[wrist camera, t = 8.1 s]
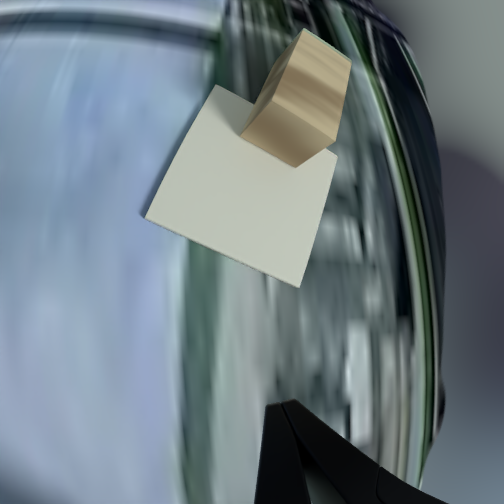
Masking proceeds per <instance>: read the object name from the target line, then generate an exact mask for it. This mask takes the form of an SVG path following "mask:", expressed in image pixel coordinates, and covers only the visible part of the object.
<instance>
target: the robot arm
mask: <svg viewBox="0 0 504 504" xmlns="http://www.w3.org/2000/svg"><path fill="white" fill-rule="evenodd" d="M310 499H311V500H310ZM311 501H312V504H448V503H446V502H444V501H441V500H439V499H437V498H435V497H433V496H431V495H428V494H426V493H424V492H422V491H420V490H418V489H416V488H414V487H413V486H411V485H409V484H407V483H405V482H404V481H402V480H401V479H399V478H397V477H396V476H394V475H393V474H391V473H390V472H389V471H387V470H386V469H384V468H383V467H380V465H379V464H377V463H376V462H375V461H373V460H372V459H371V458H369V457H368V456H367V455H365V454H364V453H362V452H361V451H360V450H359V449H357V448H356V447H355V446H353V445H352V444H351V443H349V442H348V441H347V440H345V439H344V438H343V437H342V436H340V435H339V434H338V433H337V432H335V431H334V430H333V429H331V428H330V427H329V426H328V425H326V424H325V423H324V422H323V421H322V420H320V419H319V418H318V417H317V416H315V415H314V414H313V413H312V412H311V411H309V410H308V409H307V408H306V407H305V406H303V405H302V404H301V403H300V402H299V401H297V400H296V399H288V400H284V401H282V402H281V403H279V402H276V403H271V404H267V405H266V407H265V416H264V425H263V434H262V443H261V451H260V460H259V468H258V476H257V484H256V492H255V499H254V504H311Z"/></svg>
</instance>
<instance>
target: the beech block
mask: <svg viewBox="0 0 504 504" xmlns="http://www.w3.org/2000/svg"><path fill="white" fill-rule="evenodd" d="M351 63H352V61H351V60H350V59H349V58H347V57H346V56H345V55H343V54H342V53H340V52H339V51H338V50H336V49H335V48H333V47H332V46H330V45H329V44H328V43H326V42H325V41H323V40H322V39H320V38H319V37H317V36H316V35H314V34H313V33H311V32H309V31H308V30H306V29H305V28H303V30H302V31H301V32H300V33H299V34H298V35H297V36H296V38H295V39H294V40H293V41H292V42H291V43H290V45H289V46H288V47H287V48H286V49H285V50H284V52H283V53H282V54H281V55H280V56H279V58H278V59H277V60H276V61H275V63H274V65H273V67H272V69H271V71H270V73H269V75H268V77H267V79H266V81H265V84H264V86H263V88H262V90H261V92H260V94H259V96H258V98H257V100H256V102H255V105H254V107H253V109H252V111H251V113H250V115H249V117H248V120H247V122H246V124H245V126H244V128H243V130H242V133H241V135H240V137H242V138H244V139H245V140H247V141H249V142H251V143H253V144H254V145H256V146H258V147H260V148H262V149H263V150H265V151H267V152H269V153H270V154H272V155H274V156H276V157H277V158H279V159H281V160H283V161H284V162H286V163H288V164H289V165H291V166H293V167H294V168H297V167H298V166H300V165H301V164H303V163H304V162H305V161H307V160H308V159H310V158H311V157H313V156H314V155H316V154H317V153H319V152H320V151H322V150H323V149H325V148H326V147H327V146H329V145H330V144H332V143H333V142H335V141H336V136H337V132H338V127H339V122H340V118H341V113H342V108H343V103H344V99H345V94H346V89H347V84H348V79H349V73H350V68H351Z"/></svg>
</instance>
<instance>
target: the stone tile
mask: <svg viewBox="0 0 504 504" xmlns="http://www.w3.org/2000/svg"><path fill="white" fill-rule="evenodd" d="M253 107H254V104H252V103H250V102H249V101H247V100H245V99H243V98H241V97H239V96H238V95H236V94H234V93H232V92H230V91H228V90H226V89H224V88H222V87H221V86H219V85H217V84H216V85H215V87H214V88H213V90H212V92H211V93H210V95H209V97H208V98H207V100H206V102H205V103H204V105H203V107H202V108H201V110H200V112H199V114H198V115H197V117H196V119H195V121H194V122H193V124H192V126H191V128H190V129H189V131H188V133H187V135H186V137H185V139H184V140H183V142H182V144H181V146H180V148H179V150H178V152H177V153H176V155H175V157H174V159H173V161H172V163H171V165H170V167H169V169H168V171H167V173H166V175H165V177H164V179H163V181H162V183H161V185H160V187H159V189H158V191H157V193H156V195H155V197H154V199H153V201H152V204H151V206H150V208H149V210H148V212H147V214H146V216H145V220H148V221H150V222H152V223H154V224H156V225H158V226H161V227H163V228H165V229H167V230H169V231H172V232H174V233H176V234H178V235H180V236H182V237H185V238H187V239H189V240H191V241H193V242H196V243H198V244H200V245H202V246H204V247H207V248H209V249H211V250H213V251H215V252H218V253H220V254H222V255H224V256H226V257H229V258H231V259H233V260H235V261H238V262H240V263H242V264H244V265H246V266H249V267H251V268H253V269H255V270H258V271H260V272H262V273H264V274H267V275H269V276H271V277H273V278H276V279H278V280H280V281H282V282H285V283H287V284H289V285H291V286H294V287H296V288H299V287H300V284H301V281H302V278H303V275H304V272H305V268H306V265H307V262H308V259H309V256H310V252H311V249H312V246H313V242H314V239H315V236H316V232H317V229H318V226H319V222H320V219H321V215H322V212H323V208H324V205H325V201H326V198H327V194H328V191H329V187H330V184H331V180H332V176H333V172H334V169H335V165H336V161H337V157H338V156H336V155H335V154H333V153H332V152H330V151H329V150H327V149H326V148H325V149H323V150H322V151H320V152H319V153H317V154H316V155H314V156H313V157H311V158H310V159H308V160H307V161H305V162H304V163H303V164H301V165H300V166H298V167H297V168H294V167H293V166H291V165H289V164H288V163H286V162H284V161H283V160H281V159H279V158H277V157H276V156H274V155H272V154H270V153H269V152H267V151H265V150H263V149H262V148H260V147H258V146H256V145H254V144H253V143H251V142H249V141H247V140H245V139H244V138H242V137H240V135H241V133H242V130H243V128H244V126H245V124H246V122H247V120H248V117H249V115H250V113H251V111H252V109H253Z"/></svg>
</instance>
